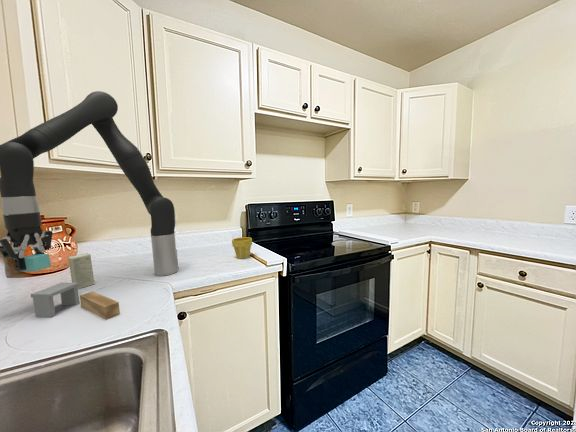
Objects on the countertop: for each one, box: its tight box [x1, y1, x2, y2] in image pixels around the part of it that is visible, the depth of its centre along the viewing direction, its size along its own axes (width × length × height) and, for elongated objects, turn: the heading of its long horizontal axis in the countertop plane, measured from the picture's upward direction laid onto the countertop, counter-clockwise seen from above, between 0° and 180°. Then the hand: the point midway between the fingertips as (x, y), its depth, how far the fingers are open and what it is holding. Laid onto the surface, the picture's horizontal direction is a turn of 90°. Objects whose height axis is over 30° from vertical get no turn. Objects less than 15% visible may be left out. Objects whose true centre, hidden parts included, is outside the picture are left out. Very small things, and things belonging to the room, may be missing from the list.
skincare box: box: [67, 252, 95, 289], centre depth 95 cm, size 6×4×12 cm
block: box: [22, 253, 52, 272], centre depth 75 cm, size 4×5×4 cm
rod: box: [79, 291, 121, 321], centre depth 75 cm, size 4×17×4 cm, turn 59°
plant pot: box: [231, 236, 253, 260], centre depth 129 cm, size 10×10×10 cm
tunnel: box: [30, 282, 80, 318], centre depth 76 cm, size 9×6×7 cm
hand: (31, 267), depth 75 cm, fingers closed on block, 4 cm apart
